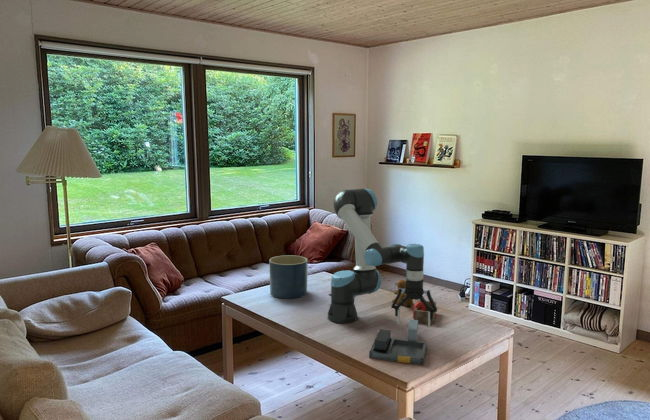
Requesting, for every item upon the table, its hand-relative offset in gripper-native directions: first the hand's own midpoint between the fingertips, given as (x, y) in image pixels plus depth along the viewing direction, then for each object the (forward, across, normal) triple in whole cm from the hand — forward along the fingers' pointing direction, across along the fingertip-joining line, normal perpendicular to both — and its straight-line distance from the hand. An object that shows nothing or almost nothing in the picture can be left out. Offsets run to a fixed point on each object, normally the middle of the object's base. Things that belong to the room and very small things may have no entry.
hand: (413, 324), depth 222 cm
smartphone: (+6, -47, +54) cm, 72 cm away
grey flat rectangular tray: (+7, -4, -16) cm, 18 cm away
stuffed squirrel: (+6, -10, +47) cm, 48 cm away
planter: (+5, -77, +45) cm, 90 cm away
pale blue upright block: (+7, 0, 0) cm, 7 cm away
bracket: (+7, +3, +29) cm, 30 cm away
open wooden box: (+7, +3, +29) cm, 30 cm away
